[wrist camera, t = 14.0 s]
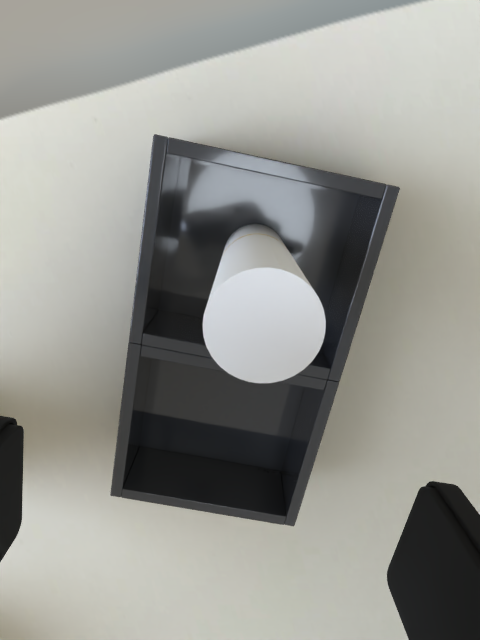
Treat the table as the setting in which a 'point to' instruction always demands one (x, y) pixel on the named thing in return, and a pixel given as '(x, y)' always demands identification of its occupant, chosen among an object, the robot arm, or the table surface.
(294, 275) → the tube
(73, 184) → the table surface
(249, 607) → the table surface
